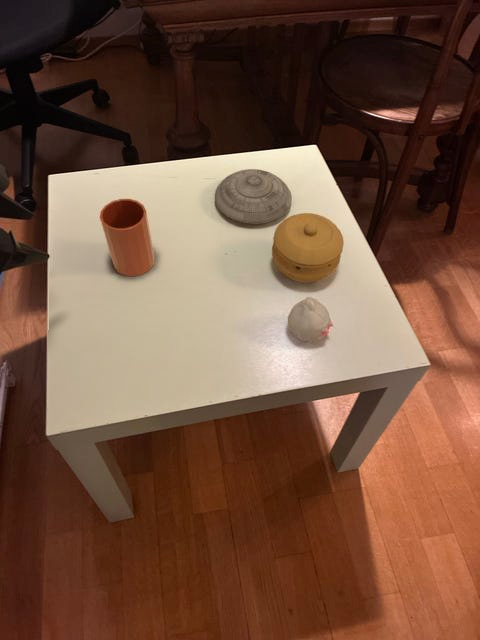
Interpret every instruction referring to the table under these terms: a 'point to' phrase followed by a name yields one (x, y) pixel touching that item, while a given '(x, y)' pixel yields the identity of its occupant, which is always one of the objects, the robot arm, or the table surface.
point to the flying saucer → (253, 196)
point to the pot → (307, 247)
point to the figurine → (309, 320)
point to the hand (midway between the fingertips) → (39, 236)
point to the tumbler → (128, 236)
